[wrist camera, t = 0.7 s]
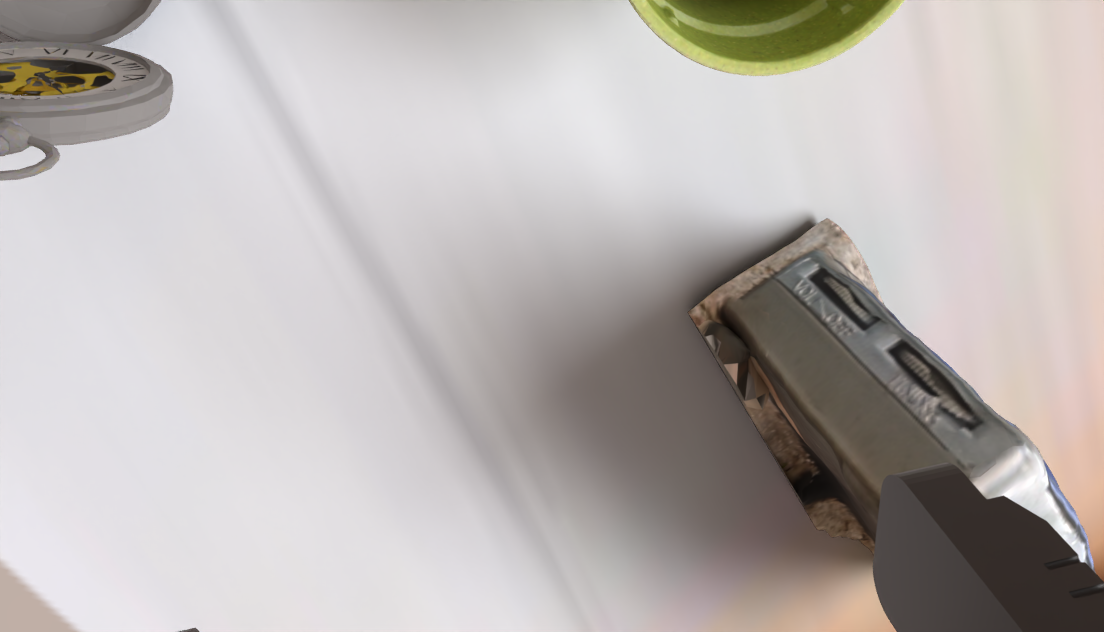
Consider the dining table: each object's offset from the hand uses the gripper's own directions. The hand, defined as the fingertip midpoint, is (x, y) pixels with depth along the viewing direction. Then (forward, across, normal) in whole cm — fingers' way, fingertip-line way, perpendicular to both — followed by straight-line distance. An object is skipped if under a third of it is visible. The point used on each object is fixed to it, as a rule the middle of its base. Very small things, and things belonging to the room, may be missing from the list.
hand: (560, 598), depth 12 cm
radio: (+25, -18, +20) cm, 37 cm away
